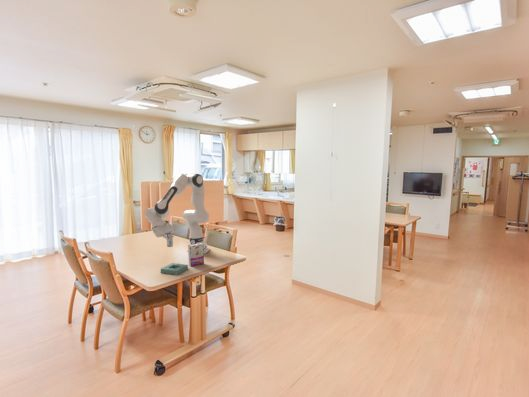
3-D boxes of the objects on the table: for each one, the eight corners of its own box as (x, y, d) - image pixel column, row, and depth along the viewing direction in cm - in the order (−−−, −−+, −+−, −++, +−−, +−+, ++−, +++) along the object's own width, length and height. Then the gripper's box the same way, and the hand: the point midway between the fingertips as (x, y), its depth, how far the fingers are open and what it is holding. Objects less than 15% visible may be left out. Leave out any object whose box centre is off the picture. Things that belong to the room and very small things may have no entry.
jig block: (171, 266, 232) (171, 263, 231) (187, 268, 228) (187, 264, 227) (160, 272, 218) (160, 268, 218) (177, 274, 214) (177, 270, 214)
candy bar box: (201, 262, 243) (201, 242, 241) (204, 264, 239) (203, 244, 237) (188, 264, 237) (187, 244, 235) (190, 266, 232) (190, 246, 231)
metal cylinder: (169, 245, 237) (168, 233, 236) (173, 245, 236) (173, 233, 235) (165, 246, 233) (165, 234, 232) (170, 247, 232) (170, 234, 231)
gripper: (153, 225, 225) (164, 238, 223) (169, 220, 244) (180, 233, 242) (148, 230, 227) (159, 244, 225) (165, 225, 246) (175, 238, 244)
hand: (170, 238), depth 234 cm, fingers closed on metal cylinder, 4 cm apart
